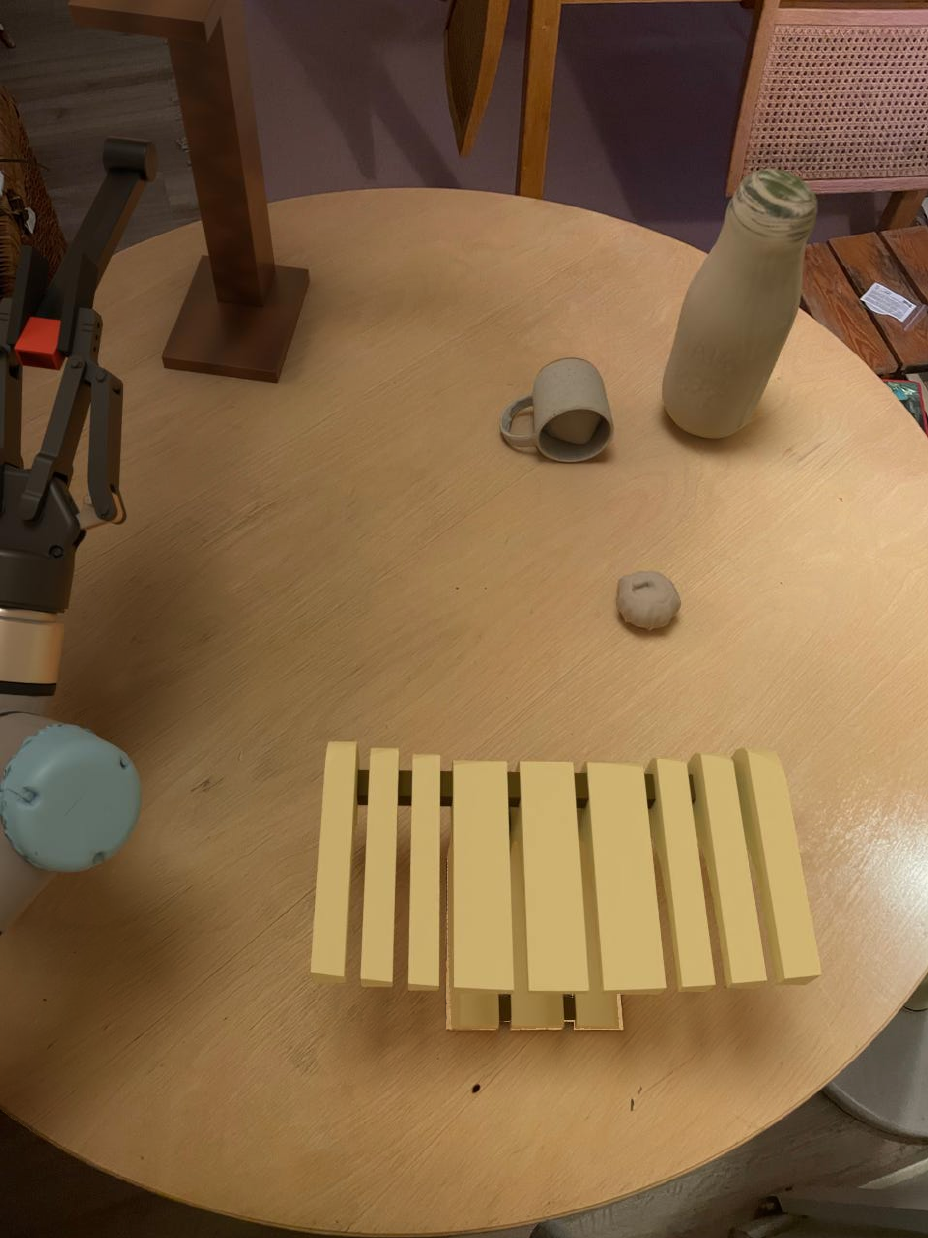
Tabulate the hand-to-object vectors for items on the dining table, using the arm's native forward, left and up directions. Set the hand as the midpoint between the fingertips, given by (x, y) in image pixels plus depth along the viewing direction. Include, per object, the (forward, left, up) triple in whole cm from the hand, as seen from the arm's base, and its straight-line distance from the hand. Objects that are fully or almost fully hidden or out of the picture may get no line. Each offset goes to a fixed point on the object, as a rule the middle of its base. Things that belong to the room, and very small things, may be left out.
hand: (60, 257), depth 68 cm
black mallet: (0, +4, -3) cm, 5 cm away
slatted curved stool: (+38, -29, -33) cm, 58 cm away
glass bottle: (+50, +25, -33) cm, 65 cm away
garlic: (+45, 0, -33) cm, 56 cm away
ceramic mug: (+35, +20, -33) cm, 52 cm away
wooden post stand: (0, +30, -33) cm, 45 cm away
